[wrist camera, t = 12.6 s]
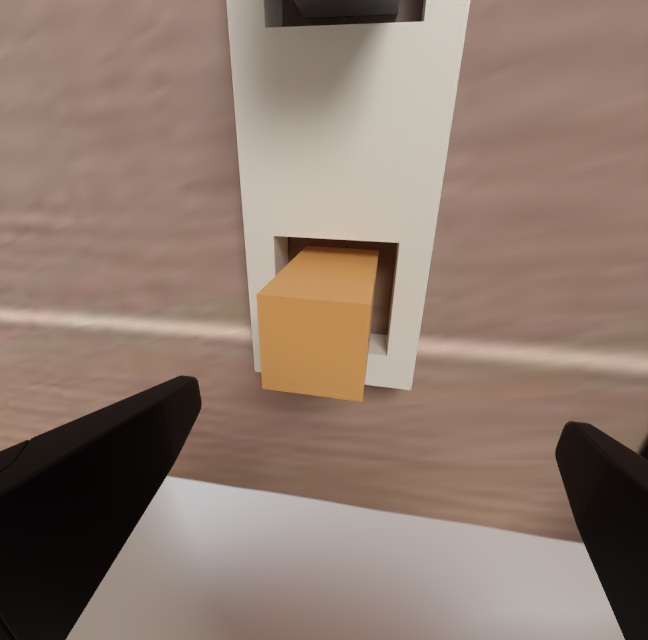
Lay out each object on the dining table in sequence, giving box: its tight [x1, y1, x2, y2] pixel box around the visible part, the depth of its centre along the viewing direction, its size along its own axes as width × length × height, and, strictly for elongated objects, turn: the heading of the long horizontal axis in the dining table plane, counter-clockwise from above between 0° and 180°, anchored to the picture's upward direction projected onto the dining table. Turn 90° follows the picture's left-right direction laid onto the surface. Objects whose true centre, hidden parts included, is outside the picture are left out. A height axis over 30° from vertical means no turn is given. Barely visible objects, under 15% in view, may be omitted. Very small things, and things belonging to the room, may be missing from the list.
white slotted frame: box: [226, 0, 470, 390], centre depth 16 cm, size 24×9×2 cm, turn 179°
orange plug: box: [256, 246, 379, 402], centre depth 16 cm, size 4×4×8 cm
